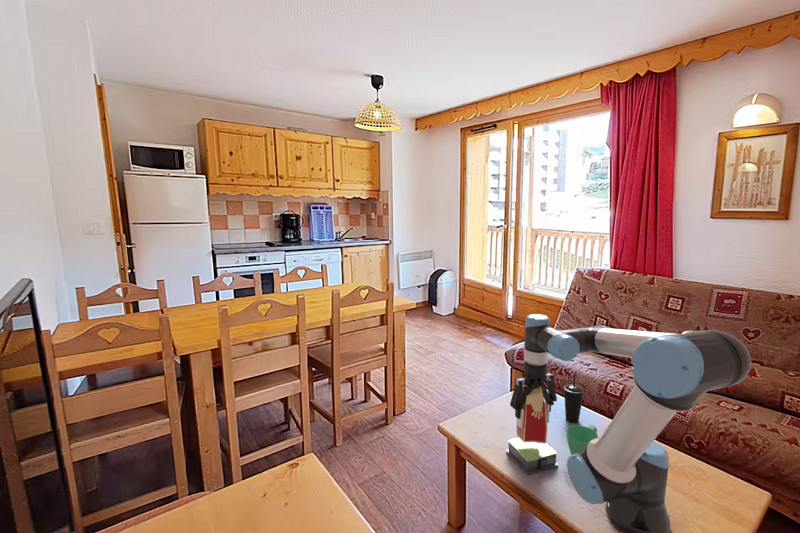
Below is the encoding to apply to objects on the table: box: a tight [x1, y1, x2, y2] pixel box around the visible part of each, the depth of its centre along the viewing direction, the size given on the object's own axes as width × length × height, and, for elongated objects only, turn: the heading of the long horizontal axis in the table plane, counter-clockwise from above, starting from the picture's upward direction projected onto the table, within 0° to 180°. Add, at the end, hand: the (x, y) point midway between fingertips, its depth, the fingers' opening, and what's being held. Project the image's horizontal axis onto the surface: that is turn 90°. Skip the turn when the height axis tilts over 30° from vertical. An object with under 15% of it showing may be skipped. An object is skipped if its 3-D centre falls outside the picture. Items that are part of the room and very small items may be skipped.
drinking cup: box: [563, 373, 585, 424], centre depth 154 cm, size 8×8×20 cm
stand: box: [506, 437, 559, 476], centre depth 131 cm, size 12×12×5 cm
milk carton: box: [515, 385, 548, 444], centre depth 129 cm, size 9×9×20 cm
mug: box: [565, 424, 599, 456], centre depth 132 cm, size 15×10×10 cm
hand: (532, 423), depth 129 cm, fingers closed on milk carton, 9 cm apart
